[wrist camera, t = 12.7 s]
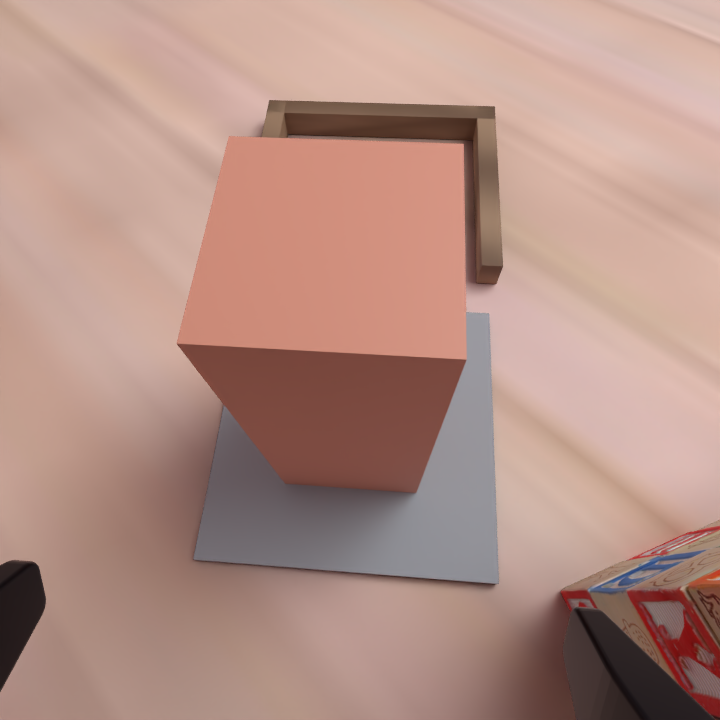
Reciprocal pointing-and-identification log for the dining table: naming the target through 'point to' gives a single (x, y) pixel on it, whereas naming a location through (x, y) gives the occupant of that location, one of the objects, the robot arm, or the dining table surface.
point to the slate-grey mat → (368, 500)
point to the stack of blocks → (667, 608)
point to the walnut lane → (413, 124)
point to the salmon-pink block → (334, 304)
